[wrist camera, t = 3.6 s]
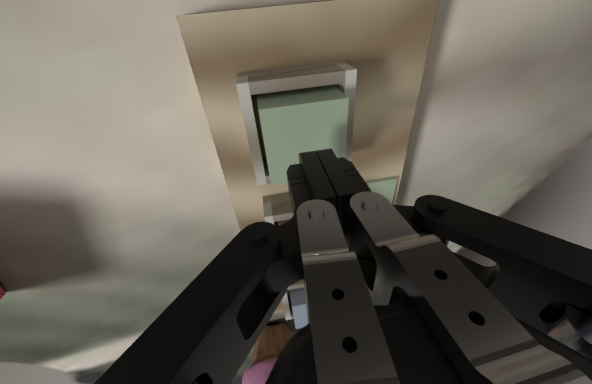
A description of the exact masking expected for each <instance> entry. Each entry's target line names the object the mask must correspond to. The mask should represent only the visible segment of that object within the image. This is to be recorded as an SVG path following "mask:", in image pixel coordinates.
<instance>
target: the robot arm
mask: <svg viewBox="0 0 592 384" xmlns="http://www.w3.org/2000/svg"><path fill="white" fill-rule="evenodd" d="M287 181H288V189H289V198H290V202H291V207H292V211H293V217H292V218H291V219H290V220H289V221H287V222H286V223H284V224H282V225H280V226H275V225H274V224H272V223H269V222H255V223H252V224H250V225H248V226H246V227H245V228H243V229H242V230H241V231H240V232H239V233H238V234H237V235H236V237H235V238H234V239H233V240H232V241H231V242H230V243H229V244H228V245H227V246H226V247H225V248H224V249H223V250H222V251H221V252H220V253H219V254H218V255H217V256H216V257H215V258H214V259H213V260H212V261H211V263H210V264H209V265H208V266H207V267H206V268H205V269H204V270H203V271H202V272H201V273H200V274H199V275H198V276H197V277H196V278H195V279H194V280H193V281H192V282H191V283H190V284H189V285H188V286H187V288H186V289H185V290H184V291H183V292H182V293H181V294H180V295H179V296H178V297H177V298H176V299H175V300H174V301H173V302H172V303H171V304H170V305H169V306H168V307H167V308H166V309H165V310H164V311H163V313H162V314H161V315H160V316H159V317H158V318H157V319H156V320H155V321H154V322H153V323H152V324H151V325H150V326H149V327H148V328H147V329H146V330H145V331H144V332H143V333H142V334H141V335H140V336H139V338H138V339H137V340H136V341H135V342H134V343H133V344H132V345H131V346H130V347H129V348H128V349H127V350H126V351H125V352H124V353H123V354H122V355H121V356H120V357H119V358H118V359H117V360H116V361H115V362H114V364H113V365H112V366H111V367H110V368H109V369H108V370H107V371H106V372H105V373H104V374H103V375H102V376H101V377H100V378H99V379H98V380H97V381H96V382H95V383H94V384H230V383H231V381H232V379H233V378H234V376H235V375H236V373H237V371H238V370H239V368H240V367H241V365H242V363H243V362H244V360H245V358H246V357H247V355H248V354H249V352H250V350H251V349H252V347H253V346H254V344H255V342H256V341H257V339H258V337H259V336H260V334H261V333H262V331H263V329H264V328H265V326H266V324H267V323H268V321H269V320H270V318H271V316H272V315H273V313H274V312H275V310H276V308H277V307H278V305H279V303H280V302H281V300H282V299H283V297H284V295H285V294H286V292H287V289H288V287H289V286H291V285H292V284H294V283H296V282H298V281H300V280H302V279H303V282H304V291H305V299H306V308H307V317H308V324H307V325H306V326H304V327H303V328H301V329H300V330H299V331H298V332H297V333H296V334H294V335H293V336H292V338H291V339H290V340H289V341H288V342H287V343H286V345H285V346H284V348H283V349H282V351H281V352H280V354H279V356H278V358H277V360H276V362H275V364H274V366H273V368H272V370H271V372H270V374H269V376H268V378H267V380H266V382H265V384H592V250H591V249H588V248H585V247H582V246H580V245H577V244H574V243H571V242H568V241H566V240H562V239H560V238H557V237H554V236H551V235H548V234H546V233H543V232H540V231H537V230H534V229H532V228H529V227H526V226H523V225H520V224H517V223H515V222H512V221H509V220H506V219H503V218H501V217H498V216H495V215H492V214H489V213H487V212H484V211H481V210H478V209H475V208H473V207H470V206H467V205H464V204H461V203H458V202H456V201H453V200H450V199H447V198H444V197H441V196H436V195H425V196H421V197H419V198H418V199H417V200H416V201H415V205H414V206H402V205H392V204H391V203H390V202H389V200H388V199H387V198H386V197H384V196H383V195H381V194H378V193H375V192H372V191H371V190H370V188H369V187H368V185H367V184H366V182H365V181H364V179H363V178H362V176H361V175H360V173H359V172H358V170H356V167H355V166H354V165H353V163H352V162H351V161H349V160H348V159H346V158H344V157H341V158H337V157H336V155H335V153H334V152H333V150H332V149H331V148H330V149H323V150H316V151H309V152H302V153H299V164H293V165H289V167H288V170H287ZM449 241H451V242H454V243H456V244H458V245H460V246H463V247H465V248H467V249H469V250H472V251H474V252H476V253H479V254H481V255H483V256H485V257H488V258H490V259H492V260H493V261H495V262H496V263H497V264H496V265H495V266H492V267H486V266H482V265H480V264H478V263H476V262H473V261H471V260H469V259H467V258H465V257H463V256H461V255H458V254H456V253H454V252H452V251H451V250H450V249H449V248H448V247H447V245H448V242H449Z"/></svg>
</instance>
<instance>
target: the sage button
mask: <svg viewBox="0 0 592 384" xmlns="http://www.w3.org/2000/svg"><path fill="white" fill-rule="evenodd" d="M348 102H349V98H348V97H347V96H346V95H345V94H344V93H343V92H342V91H340V90H339V89H338V88H337V87H336V86H327V87H319V88H311V89H303V90H295V91H287V92H279V93H272V94H264V95H257V103H258V111H259V117H260V123H261V129H262V134H263V140H264V146H265V152H266V158H267V164H268V170H269V175H270V181H271V185H277V184H283V183H288V181H287V170H288V167H289V165H293V164H299V153H302V152H309V151H316V150H323V149H330V148H331V149H332V150H333V152H334V153H335V155H336V157H337V158H341V157H344V158H346V144H347V123H348Z"/></svg>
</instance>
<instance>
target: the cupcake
mask: <svg viewBox="0 0 592 384" xmlns="http://www.w3.org/2000/svg"><path fill="white" fill-rule="evenodd" d="M292 336H293V335H292V333H291V331H290V330H289V328H288V327H287V326H286V325H285V324H283V323H282V324H278V325H274V326H265V328H264V329H263V331H262V333H261V334H260V336H259V337H258V339H257V341H256V344H255V350H254V356H253V361H252V364H251V367H249V368H248V369H247V370H246V371H245V373H244V376H243V379H242V384H265V382H266V380H267V378H268V376H269V374H270V372H271V370H272V368H273V366H274V364H275V362H276V360H277V358H278V356H279V354H280V352H281V351H282V349H283V348H284V346H285V345H286V343H287V342H288V341H289V340H290V339H291V338H292Z"/></svg>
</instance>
